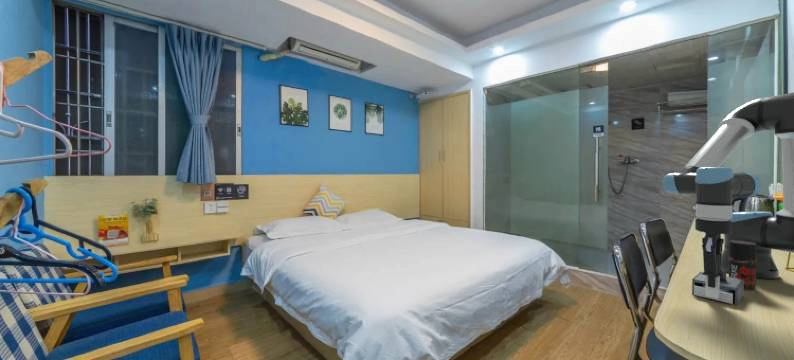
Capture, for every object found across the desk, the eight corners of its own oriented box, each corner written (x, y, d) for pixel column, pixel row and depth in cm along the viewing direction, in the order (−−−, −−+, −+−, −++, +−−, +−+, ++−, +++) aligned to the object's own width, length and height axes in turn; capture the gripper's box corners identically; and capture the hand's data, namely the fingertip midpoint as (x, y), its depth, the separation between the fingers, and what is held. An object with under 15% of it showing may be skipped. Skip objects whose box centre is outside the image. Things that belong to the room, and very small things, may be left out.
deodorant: (725, 285, 101) (725, 241, 101) (733, 282, 103) (733, 239, 103) (750, 291, 96) (751, 245, 95) (759, 288, 98) (759, 243, 97)
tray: (702, 286, 99) (702, 278, 99) (738, 294, 93) (738, 285, 93) (694, 294, 93) (694, 285, 93) (732, 303, 86) (732, 294, 86)
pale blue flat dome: (725, 290, 94) (725, 283, 94) (734, 297, 89) (734, 290, 89) (699, 286, 97) (699, 280, 97) (706, 293, 92) (706, 286, 92)
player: (700, 285, 101) (700, 263, 101) (743, 295, 93) (744, 270, 93) (692, 293, 95) (692, 269, 95) (737, 304, 87) (738, 278, 87)
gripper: (700, 215, 95) (699, 288, 96) (690, 219, 88) (689, 298, 89) (735, 218, 89) (734, 295, 90) (727, 222, 82) (726, 307, 82)
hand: (712, 296), depth 89 cm, fingers closed
